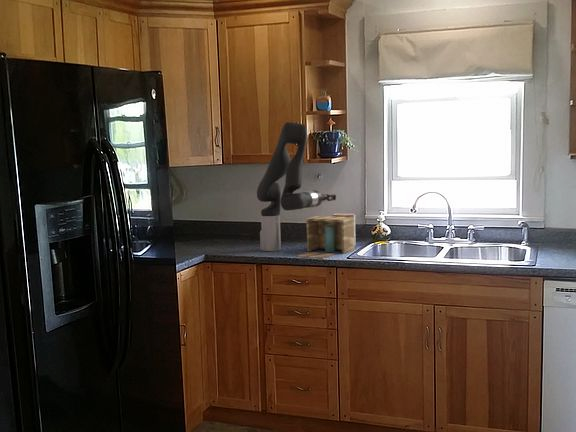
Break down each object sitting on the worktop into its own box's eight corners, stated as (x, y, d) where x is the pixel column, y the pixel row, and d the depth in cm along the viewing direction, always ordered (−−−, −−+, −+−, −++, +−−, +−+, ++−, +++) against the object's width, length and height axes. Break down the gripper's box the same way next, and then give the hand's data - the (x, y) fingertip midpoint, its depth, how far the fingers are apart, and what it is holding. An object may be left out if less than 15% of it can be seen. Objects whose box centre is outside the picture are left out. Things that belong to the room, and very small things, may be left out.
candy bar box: (332, 247, 354) (331, 214, 353) (334, 245, 359) (333, 213, 357) (354, 247, 351) (353, 214, 350) (356, 245, 356) (355, 213, 354)
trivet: (295, 256, 328) (295, 255, 328) (308, 252, 339) (308, 251, 338) (322, 258, 321) (322, 257, 321) (334, 254, 331) (334, 253, 331)
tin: (323, 251, 342) (323, 226, 340) (328, 249, 346) (327, 225, 345) (332, 251, 339) (331, 227, 338) (336, 250, 343) (336, 225, 342)
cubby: (307, 251, 343) (306, 218, 342) (318, 247, 353) (317, 215, 351) (344, 253, 333) (343, 220, 331) (354, 250, 343) (353, 217, 341)
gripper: (324, 190, 317) (340, 188, 331) (296, 190, 324) (313, 188, 338) (324, 207, 318) (340, 204, 332) (297, 207, 325) (313, 204, 339)
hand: (326, 196), depth 335 cm, fingers open, 8 cm apart
